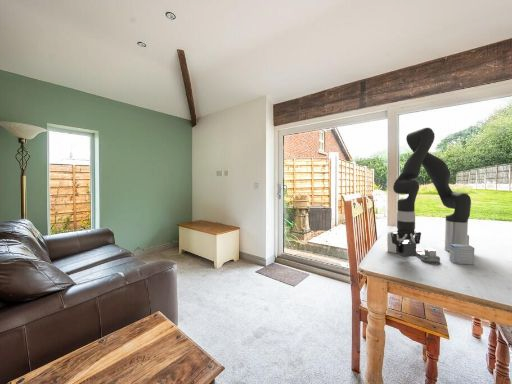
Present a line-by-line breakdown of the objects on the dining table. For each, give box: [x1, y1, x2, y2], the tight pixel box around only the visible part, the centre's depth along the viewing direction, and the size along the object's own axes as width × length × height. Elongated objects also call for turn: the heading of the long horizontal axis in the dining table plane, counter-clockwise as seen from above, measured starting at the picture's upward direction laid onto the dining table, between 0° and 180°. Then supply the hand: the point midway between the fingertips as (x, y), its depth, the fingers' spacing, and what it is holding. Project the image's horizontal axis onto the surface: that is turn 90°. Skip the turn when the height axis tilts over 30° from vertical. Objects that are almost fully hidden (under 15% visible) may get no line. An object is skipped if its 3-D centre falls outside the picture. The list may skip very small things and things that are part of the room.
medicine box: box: [448, 244, 475, 265], centre depth 106 cm, size 8×4×9 cm, turn 71°
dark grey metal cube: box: [395, 240, 417, 258], centre depth 109 cm, size 6×6×6 cm
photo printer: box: [386, 230, 401, 254], centre depth 122 cm, size 10×4×12 cm, turn 39°
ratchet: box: [415, 248, 441, 265], centre depth 115 cm, size 8×18×6 cm, turn 0°
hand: (405, 252), depth 109 cm, fingers closed on dark grey metal cube, 6 cm apart
